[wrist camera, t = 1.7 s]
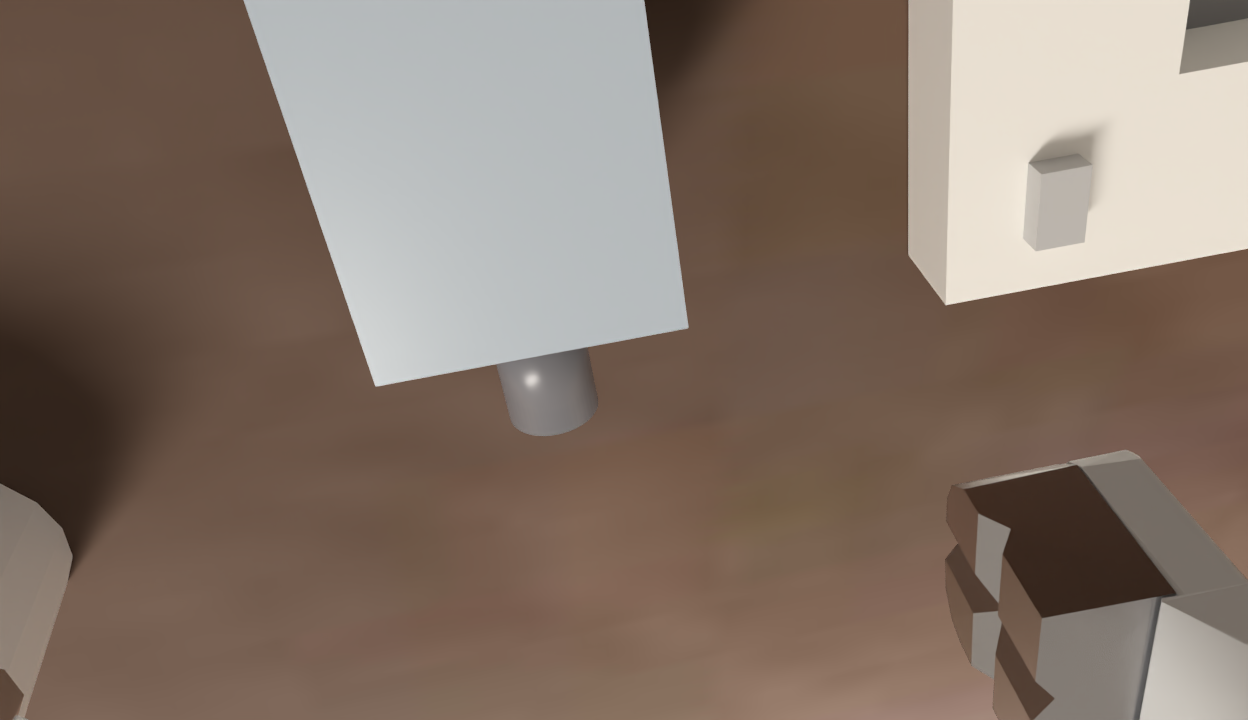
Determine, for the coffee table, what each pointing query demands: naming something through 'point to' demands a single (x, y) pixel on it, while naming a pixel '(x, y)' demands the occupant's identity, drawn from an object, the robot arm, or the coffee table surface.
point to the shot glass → (28, 586)
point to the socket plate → (1073, 139)
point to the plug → (484, 183)
